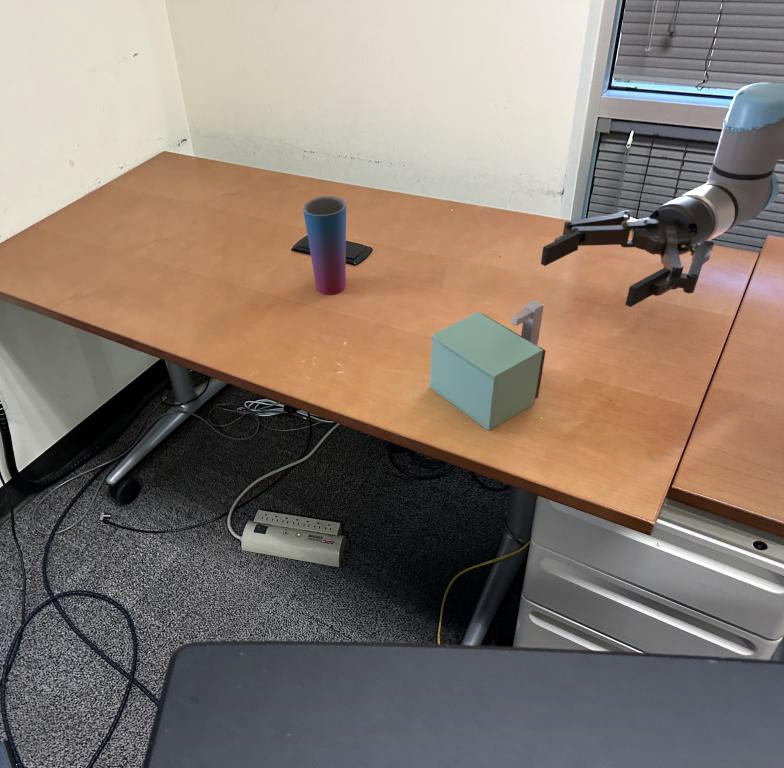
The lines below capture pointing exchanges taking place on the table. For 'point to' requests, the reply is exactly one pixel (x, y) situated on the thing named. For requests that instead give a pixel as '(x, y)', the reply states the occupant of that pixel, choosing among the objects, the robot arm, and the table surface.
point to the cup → (327, 242)
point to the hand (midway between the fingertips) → (584, 275)
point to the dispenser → (484, 369)
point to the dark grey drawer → (530, 328)
